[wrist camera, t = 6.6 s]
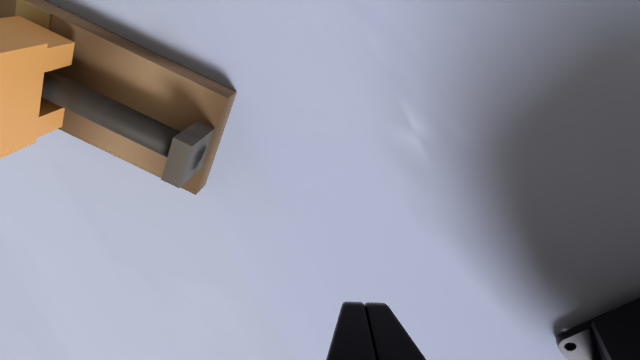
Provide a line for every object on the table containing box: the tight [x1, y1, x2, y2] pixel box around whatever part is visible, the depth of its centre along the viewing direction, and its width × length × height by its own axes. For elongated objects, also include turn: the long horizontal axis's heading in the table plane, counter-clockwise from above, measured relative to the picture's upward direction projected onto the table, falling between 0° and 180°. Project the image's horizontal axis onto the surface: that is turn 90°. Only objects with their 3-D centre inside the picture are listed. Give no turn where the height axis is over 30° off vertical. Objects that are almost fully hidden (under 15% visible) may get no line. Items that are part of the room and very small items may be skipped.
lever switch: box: [0, 0, 236, 195], centre depth 19 cm, size 12×5×5 cm, turn 67°
